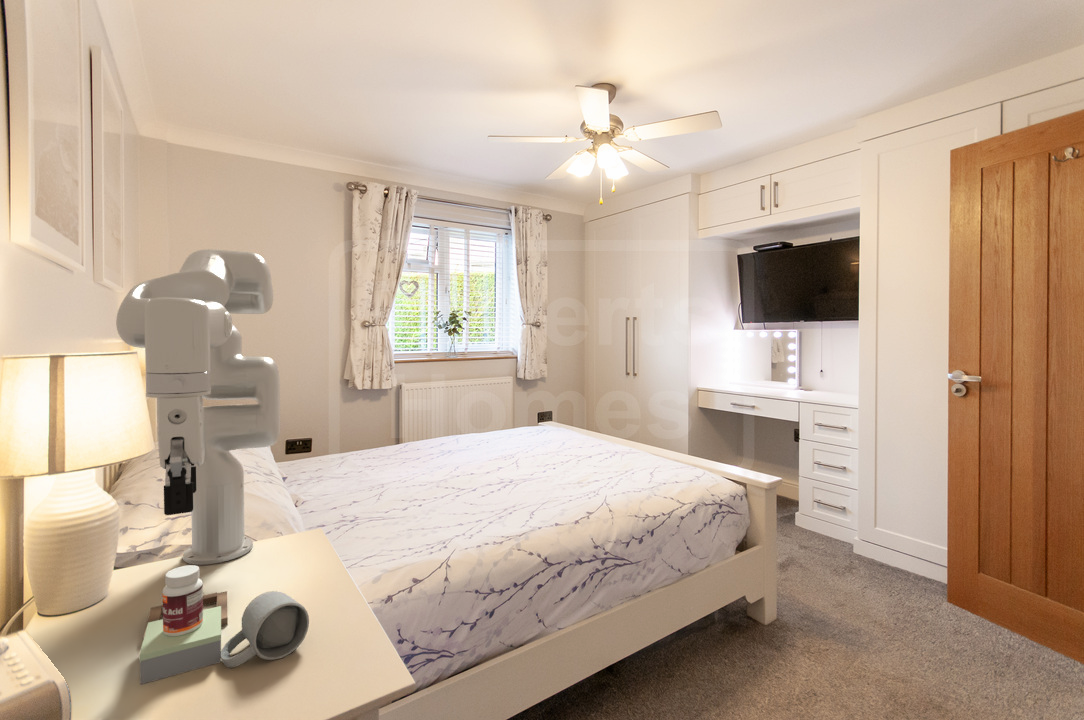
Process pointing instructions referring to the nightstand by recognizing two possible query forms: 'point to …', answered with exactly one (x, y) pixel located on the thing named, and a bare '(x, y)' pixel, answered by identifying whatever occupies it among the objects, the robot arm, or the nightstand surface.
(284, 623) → the ceramic mug
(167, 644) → the green square block
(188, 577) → the pill bottle
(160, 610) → the base
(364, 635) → the nightstand surface
